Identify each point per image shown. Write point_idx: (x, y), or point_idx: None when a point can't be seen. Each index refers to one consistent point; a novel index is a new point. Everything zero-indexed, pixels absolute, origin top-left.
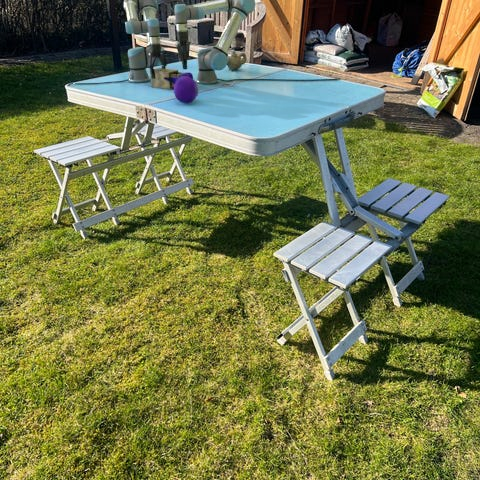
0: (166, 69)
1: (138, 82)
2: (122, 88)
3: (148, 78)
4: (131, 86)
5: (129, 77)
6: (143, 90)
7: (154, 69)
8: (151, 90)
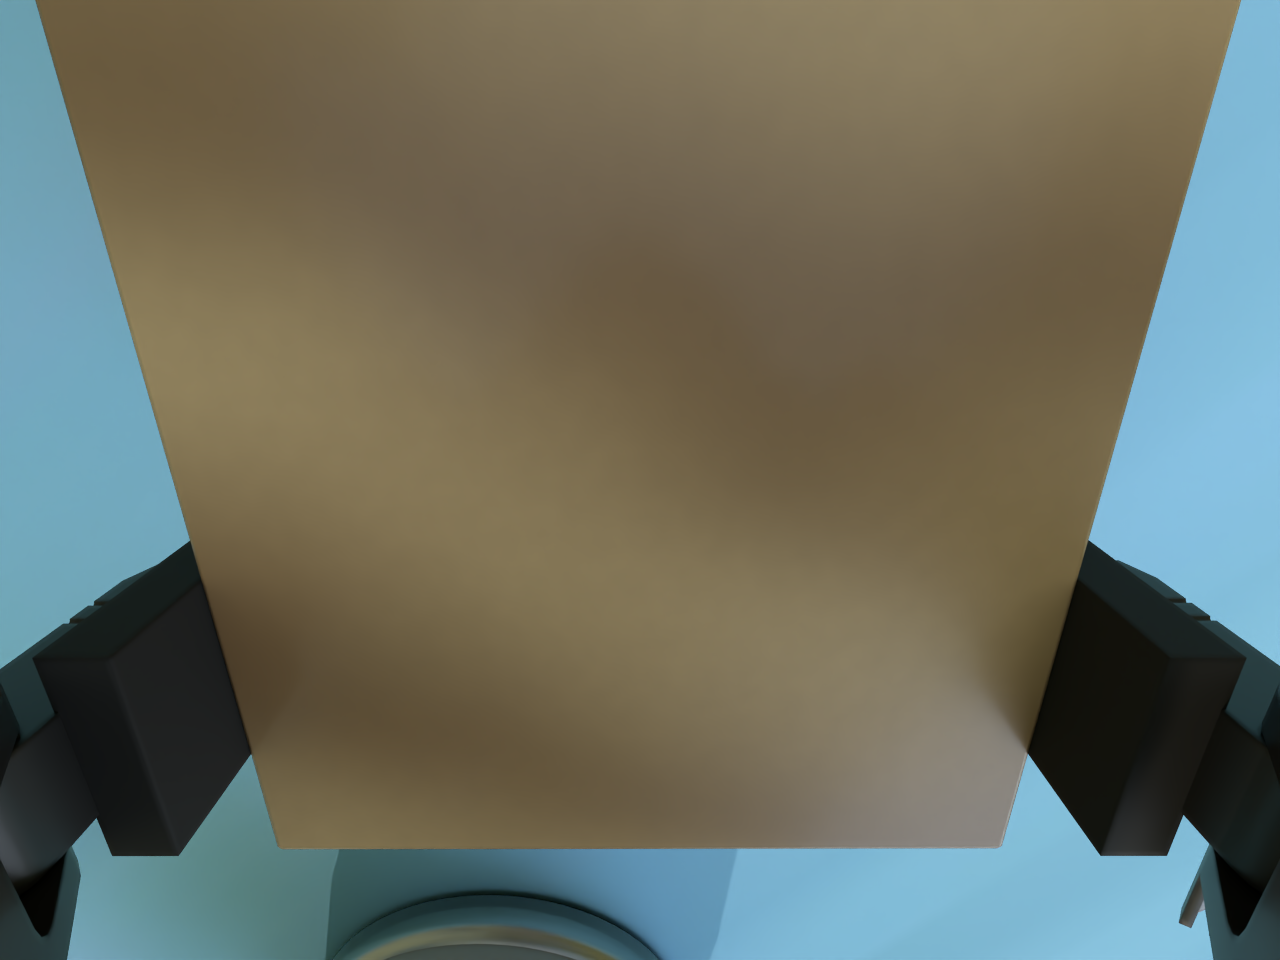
0: (317, 245)
1: (641, 947)
2: (1147, 874)
3: (397, 955)
4: (937, 862)
5: None
6: (1229, 416)
7: (679, 842)
8: (1183, 228)
